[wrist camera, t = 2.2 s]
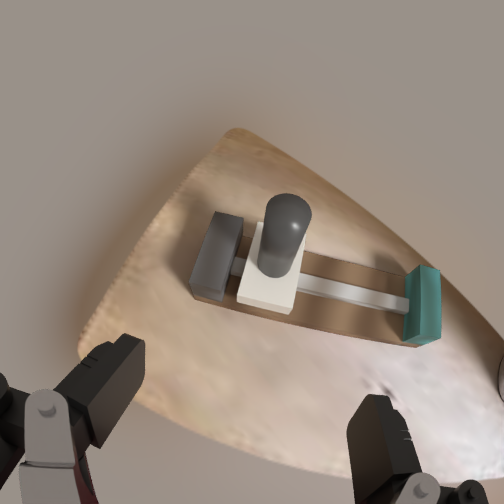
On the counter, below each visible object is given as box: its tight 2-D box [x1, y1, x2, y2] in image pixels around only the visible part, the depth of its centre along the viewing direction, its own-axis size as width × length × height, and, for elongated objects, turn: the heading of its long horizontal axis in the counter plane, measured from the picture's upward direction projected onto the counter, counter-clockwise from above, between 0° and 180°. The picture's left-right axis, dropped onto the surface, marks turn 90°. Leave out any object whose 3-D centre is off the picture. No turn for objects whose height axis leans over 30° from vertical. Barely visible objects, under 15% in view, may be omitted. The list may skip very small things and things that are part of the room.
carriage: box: [237, 193, 312, 315], centre depth 24 cm, size 5×8×10 cm, turn 166°
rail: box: [189, 211, 441, 348], centre depth 28 cm, size 26×8×5 cm, turn 76°
